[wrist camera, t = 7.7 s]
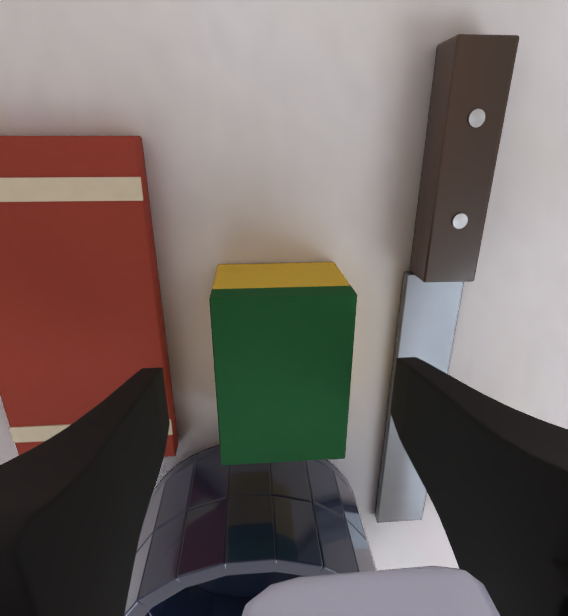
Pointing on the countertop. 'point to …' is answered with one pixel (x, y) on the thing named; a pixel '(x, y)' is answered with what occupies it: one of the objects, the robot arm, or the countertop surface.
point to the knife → (446, 227)
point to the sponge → (282, 360)
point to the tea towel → (75, 280)
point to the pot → (242, 534)
